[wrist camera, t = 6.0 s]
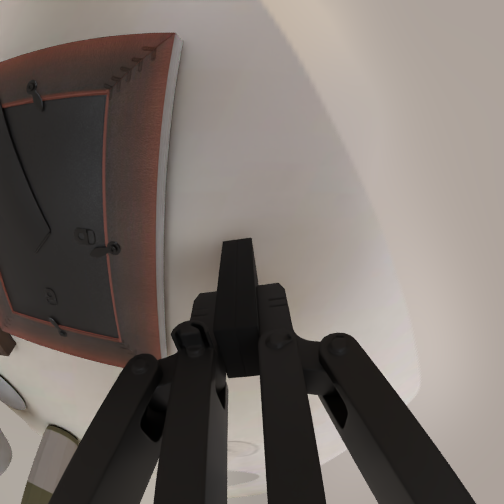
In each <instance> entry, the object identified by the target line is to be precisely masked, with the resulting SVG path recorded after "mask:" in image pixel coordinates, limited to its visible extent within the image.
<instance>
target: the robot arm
mask: <svg viewBox="0 0 504 504" xmlns="http://www.w3.org/2000/svg"><path fill="white" fill-rule="evenodd" d="M171 336H172V339H173V341H174V343H175V346H176V348H177V350H178V352H177V353H175V354H174V355H171V356H168V357H165V358H162V359H159V360H157V359H156V358H155V357H154V355H151V354H146V353H142V354H139V355H136V356H134V357H133V358H131V359H130V360H129V361H128V362H127V364H126V365H125V367H124V368H123V370H122V372H121V373H120V375H119V377H118V378H117V380H116V382H115V383H114V385H113V386H112V388H111V390H110V391H109V393H108V395H107V397H106V398H105V400H104V402H103V403H102V405H101V407H100V408H99V410H98V412H97V414H96V415H95V417H94V419H93V420H92V422H91V424H90V426H89V427H88V429H87V431H86V433H85V435H84V436H83V438H82V440H81V442H80V443H79V445H78V447H77V449H76V451H75V453H74V454H73V456H72V458H71V460H70V462H69V464H68V466H67V467H66V469H65V471H64V473H63V475H62V477H61V479H60V481H59V483H58V485H57V487H56V489H55V491H54V493H53V495H52V497H51V499H50V501H49V503H48V504H140V501H141V499H142V497H143V494H144V492H145V490H146V487H147V485H148V482H149V480H150V478H151V475H152V473H153V471H154V468H155V466H156V464H157V461H158V459H159V463H158V471H157V478H156V486H155V496H154V504H227V430H228V387H227V383H226V373H227V376H228V378H236V377H247V376H257V375H260V385H261V401H262V417H263V433H264V449H265V465H266V481H267V496H268V504H326V499H325V492H324V486H323V480H322V474H321V468H320V462H319V456H318V450H317V444H316V439H315V433H314V427H313V422H312V416H311V411H310V405H309V400H308V395H307V394H314V395H318V396H319V398H320V400H321V402H322V404H323V406H324V407H325V409H326V411H327V413H328V415H329V416H330V418H331V420H332V422H333V424H334V425H335V427H336V429H337V431H338V433H339V434H340V436H341V438H342V440H343V442H344V443H345V445H346V447H347V449H348V450H349V452H350V454H351V456H352V458H353V459H354V461H355V463H356V465H357V466H358V468H359V470H360V472H361V473H362V475H363V477H364V479H365V481H366V482H367V484H368V486H369V488H370V489H371V491H372V493H373V495H374V496H375V498H376V500H377V502H378V503H379V504H476V503H475V501H474V500H473V498H472V497H471V495H470V494H469V492H468V491H467V490H466V488H465V487H464V485H463V484H462V482H461V481H460V479H459V478H458V477H457V475H456V474H455V472H454V471H453V469H452V468H451V467H450V465H449V464H448V462H447V461H446V459H445V458H444V457H443V456H442V454H441V452H440V451H439V450H438V448H437V447H436V445H435V444H434V443H433V441H432V440H431V439H430V437H429V436H428V434H427V433H426V432H425V430H424V429H423V428H422V427H421V425H420V424H419V422H418V421H417V419H416V418H415V417H414V415H413V414H412V413H411V411H410V410H409V409H408V407H407V406H406V405H405V403H404V402H403V401H402V399H401V398H400V397H399V395H398V394H397V393H396V391H395V390H394V389H393V387H392V386H391V385H390V383H389V382H388V381H387V379H386V378H385V377H384V376H383V374H382V373H381V372H380V370H379V369H378V368H377V366H376V365H375V364H374V363H373V361H372V360H371V359H370V357H369V356H368V355H367V354H366V352H365V351H364V350H363V348H362V347H361V346H360V345H359V343H358V342H357V341H356V340H355V339H354V338H353V337H352V336H350V335H348V334H345V333H333V334H329V335H328V336H326V337H324V338H323V339H322V341H321V342H317V341H309V340H305V339H302V338H300V337H299V336H298V335H296V333H295V332H294V330H293V327H292V322H291V317H290V312H289V307H288V303H287V299H286V293H285V289H284V288H283V287H282V286H281V285H280V284H279V283H273V284H266V285H258V278H257V271H256V265H255V258H254V251H253V245H252V238H245V239H238V240H230V241H223V244H222V253H221V261H220V269H219V278H218V286H217V291H216V292H207V293H200V294H199V295H198V296H197V298H196V299H195V300H194V303H193V308H192V313H191V318H190V321H185V322H183V323H181V324H179V325H177V326H176V327H175V328H174V329H173V331H172V333H171Z"/></svg>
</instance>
